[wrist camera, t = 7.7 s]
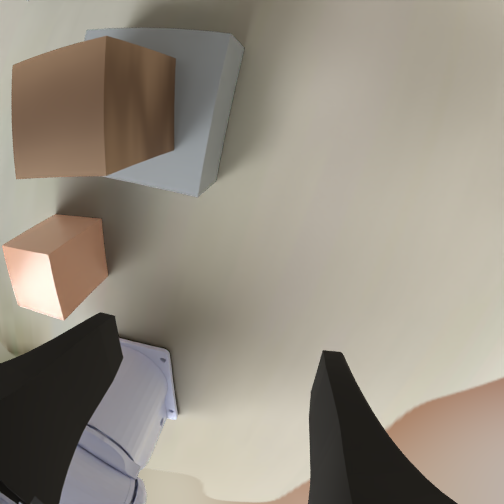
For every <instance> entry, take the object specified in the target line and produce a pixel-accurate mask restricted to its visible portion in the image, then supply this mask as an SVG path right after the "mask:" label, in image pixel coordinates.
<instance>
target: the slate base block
mask: <svg viewBox="0 0 504 504" xmlns="http://www.w3.org/2000/svg"><path fill="white" fill-rule="evenodd" d="M103 36H109V37H113V38H116V39H120V40H123V41H126V42H129V43H133V44H136V45H139V46H142V47H145V48H148V49H151V50H154V51H157V52H160V53H162V54H165V55H168V56H171V57H173V58H176V67H175V102H174V151H171V152H168V153H165V154H162V155H159V156H157V157H154V158H151V159H148V160H146V161H143V162H140V163H138V164H135V165H132V166H130V167H127V168H125V169H122V170H120V171H117V172H115V173H112V174H110V175H107V176H102V177H107V178H112V179H117V180H122V181H126V182H131V183H136V184H140V185H145V186H150V187H154V188H159V189H163V190H168V191H172V192H176V193H181V194H185V195H189V196H194V197H199V196H200V195H201V194H202V193H203V192H204V191H206V190H207V189H208V188H209V187H210V186H211V185H213V184H214V183H215V182H216V180H217V174H218V169H219V164H220V159H221V154H222V149H223V144H224V139H225V134H226V129H227V124H228V120H229V115H230V110H231V106H232V101H233V96H234V92H235V87H236V83H237V79H238V74H239V70H240V66H241V61H242V57H243V53H244V49H245V48H244V47H243V46H242V45H241V44H240V43H239V41H238V40H237V39H236V38H235V37H234V36H233V35H232V34H230V33H222V32H213V31H203V30H190V29H174V28H108V29H92V30H87V31H86V35H85V40H84V41H87V40H91V39H95V38H99V37H103Z"/></svg>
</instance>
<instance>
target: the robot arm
mask: <svg viewBox="0 0 504 504" xmlns="http://www.w3.org/2000/svg"><path fill="white" fill-rule="evenodd" d="M163 358H164V359H163ZM177 417H178V413H177V406H176V399H175V392H174V384H173V377H172V368H171V360H170V353H169V352H168V350H166V349H163V348H159V347H155V346H150V345H146V344H142V343H138V342H133V341H129V340H125V339H122V338H119V335H118V331H117V326H116V321H115V316H113V315H109V314H105V313H98V314H96V315H94V316H93V317H91V318H89V319H87V320H85V321H84V322H82V323H80V324H78V325H77V326H75V327H73V328H72V329H70V330H68V331H66V332H65V333H63V334H61V335H59V336H58V337H56V338H54V339H52V340H50V341H48V342H47V343H45V344H43V345H41V346H39V347H37V348H35V349H33V350H31V351H29V352H27V353H25V354H23V355H21V356H18V357H16V358H14V359H11V360H8V361H6V362H3V363H0V504H146V499H147V492H146V489H145V484H144V482H143V480H142V479H140V478H138V477H137V476H138V474H139V471H140V470H142V469H143V468H144V467H145V466H146V465H147V463H148V462H149V460H150V458H151V455H152V453H153V450H154V448H155V445H156V443H157V441H158V438H159V436H160V433H161V431H162V429H163V426H164V424H165V421H166V419H167V418H169V419H173V420H175V419H177ZM309 434H310V469H311V476H310V491H309V500H308V504H457V503H456V502H455V501H453V500H452V499H450V498H449V497H448V496H446V495H445V494H444V493H442V492H441V491H440V490H439V489H438V488H437V487H435V486H434V485H433V484H432V483H431V482H430V481H429V480H427V479H426V478H425V477H424V476H423V475H422V474H421V472H420V471H419V470H418V469H417V468H416V467H415V466H414V465H413V464H412V463H411V462H410V461H409V460H408V459H407V458H406V457H405V455H404V454H403V453H402V452H401V451H400V449H399V448H398V447H397V446H396V444H395V443H394V442H393V441H392V439H391V438H390V437H389V435H388V434H387V432H386V431H385V430H384V428H383V427H382V425H381V424H380V422H379V421H378V419H377V417H376V416H375V414H374V413H373V411H372V409H371V408H370V406H369V404H368V403H367V401H366V399H365V397H364V396H363V394H362V392H361V390H360V388H359V386H358V385H357V383H356V381H355V379H354V377H353V375H352V373H351V370H350V368H349V366H348V364H347V362H346V360H345V357H344V355H343V354H342V353H341V352H335V351H324V350H323V351H322V355H321V359H320V362H319V366H318V369H317V373H316V376H315V380H314V383H313V387H312V390H311V398H310V411H309Z"/></svg>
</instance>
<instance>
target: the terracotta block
mask: <svg viewBox="0 0 504 504" xmlns="http://www.w3.org/2000/svg"><path fill="white" fill-rule="evenodd" d="M2 247H3V252H4V256H5V260H6V264H7V268H8V272H9V276H10V279H11V283H12V286H13V290H14V293H15V296H16V300H17V303H18V305H19V306H21V307H24V308H27V309H30V310H33V311H36V312H39V313H42V314H45V315H48V316H51V317H54V318H58V319H61V320H65V319H66V318H67V317H68V316H69V315H70V314H71V313H72V312H73V311H74V310H75V309H76V308H77V307H78V306H79V305H80V304H81V303H82V302H83V301H84V300H85V298H86V297H87V296H88V295H89V294H90V293H91V292H92V291H93V290H94V289H95V288H96V287H97V286H98V285H99V284H100V283H102V282H103V281H104V280H105V279H106V278H107V277H108V270H107V262H106V255H105V247H104V238H103V229H102V219H99V218H89V217H79V216H69V215H58V214H55V215H53V216H51V217H50V218H48V219H46V220H44V221H42V222H41V223H39V224H37V225H35V226H34V227H32V228H30V229H29V230H27V231H25V232H23V233H22V234H20V235H18V236H17V237H15V238H13V239H12V240H10V241H9V242H7V243H5V244H4V245H2Z"/></svg>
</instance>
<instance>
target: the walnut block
mask: <svg viewBox="0 0 504 504" xmlns="http://www.w3.org/2000/svg"><path fill="white" fill-rule="evenodd" d="M175 67H176V58H173V57H171V56H168V55H165V54H162V53H160V52H157V51H154V50H151V49H148V48H145V47H142V46H139V45H136V44H133V43H129V42H126V41H123V40H120V39H116V38H113V37H109V36H103V37H99V38H95V39H91V40H87V41H83V42H80V43H76V44H73V45H69V46H66V47H62V48H59V49H56V50H53V51H50V52H47V53H44V54H41V55H38V56H35V57H33V58H30V59H27V60H25V61H22V62H20V63H17V64H15V65H13V69H12V136H13V151H14V163H15V173H16V179H27V178H47V177H76V176H107V175H110V174H112V173H115V172H117V171H120V170H122V169H125V168H127V167H130V166H132V165H135V164H138V163H140V162H143V161H146V160H148V159H151V158H154V157H157V156H159V155H162V154H165V153H168V152H171V151H174V102H175Z"/></svg>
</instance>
